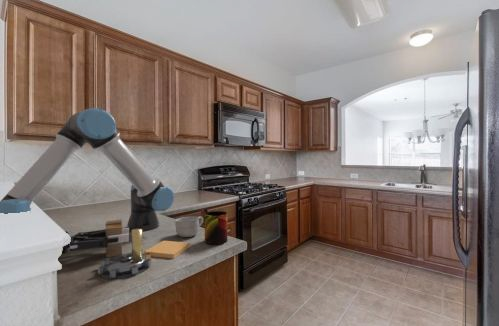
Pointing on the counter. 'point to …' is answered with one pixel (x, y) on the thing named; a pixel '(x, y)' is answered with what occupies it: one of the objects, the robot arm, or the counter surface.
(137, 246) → the sprocket
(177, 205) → the counter surface
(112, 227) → the link block
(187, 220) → the teacup
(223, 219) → the mug
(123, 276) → the sprocket plinth
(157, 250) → the light orange square slab
